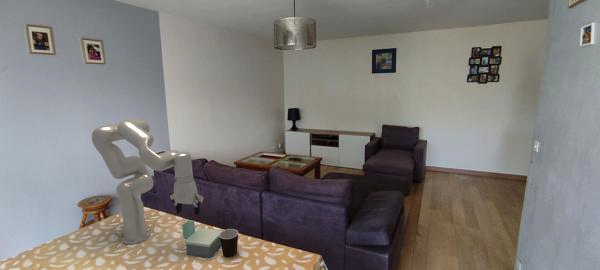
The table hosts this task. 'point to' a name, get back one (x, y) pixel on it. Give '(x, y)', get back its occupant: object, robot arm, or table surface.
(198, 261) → the table surface
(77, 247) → the table surface
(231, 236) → the coffee mug
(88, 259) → the table surface
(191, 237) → the board with teal handle
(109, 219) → the table surface
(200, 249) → the tub
